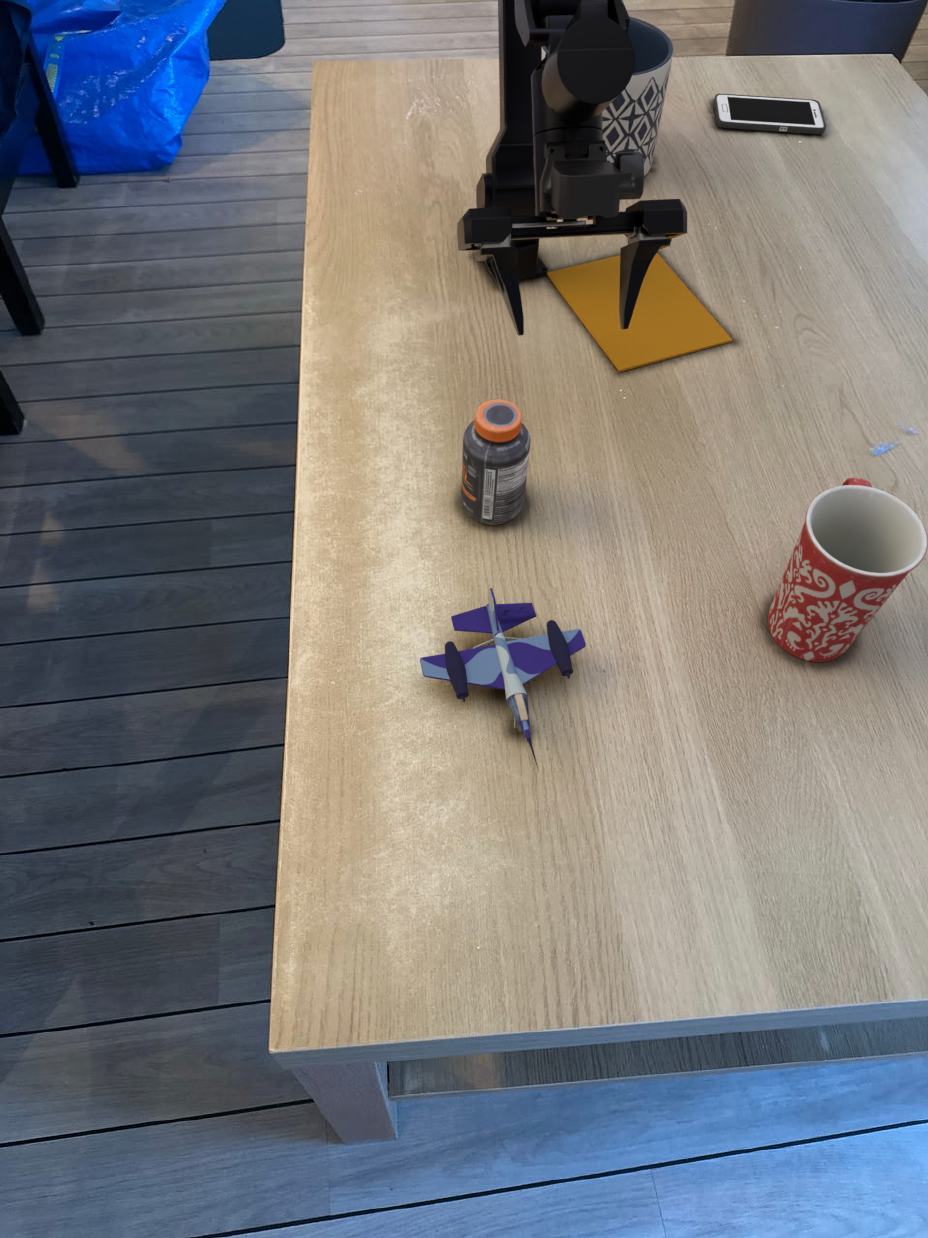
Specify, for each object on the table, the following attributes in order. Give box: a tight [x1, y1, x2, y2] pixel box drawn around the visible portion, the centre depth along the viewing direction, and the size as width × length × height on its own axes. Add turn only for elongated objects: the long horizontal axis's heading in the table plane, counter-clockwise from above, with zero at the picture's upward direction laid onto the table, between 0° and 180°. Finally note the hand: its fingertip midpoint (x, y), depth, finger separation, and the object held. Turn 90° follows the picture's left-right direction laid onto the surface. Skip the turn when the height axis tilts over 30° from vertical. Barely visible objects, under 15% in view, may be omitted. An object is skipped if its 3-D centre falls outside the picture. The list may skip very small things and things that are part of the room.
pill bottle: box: [460, 398, 531, 526], centre depth 86 cm, size 6×6×11 cm
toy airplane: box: [419, 587, 587, 772], centre depth 77 cm, size 13×14×4 cm
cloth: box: [545, 252, 733, 373], centre depth 108 cm, size 18×14×1 cm
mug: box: [767, 477, 928, 663], centre depth 79 cm, size 13×9×14 cm
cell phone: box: [713, 93, 827, 135], centre depth 132 cm, size 8×15×1 cm, turn 86°
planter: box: [542, 16, 675, 177], centre depth 119 cm, size 16×16×14 cm
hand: (572, 332), depth 83 cm, fingers open, 9 cm apart
